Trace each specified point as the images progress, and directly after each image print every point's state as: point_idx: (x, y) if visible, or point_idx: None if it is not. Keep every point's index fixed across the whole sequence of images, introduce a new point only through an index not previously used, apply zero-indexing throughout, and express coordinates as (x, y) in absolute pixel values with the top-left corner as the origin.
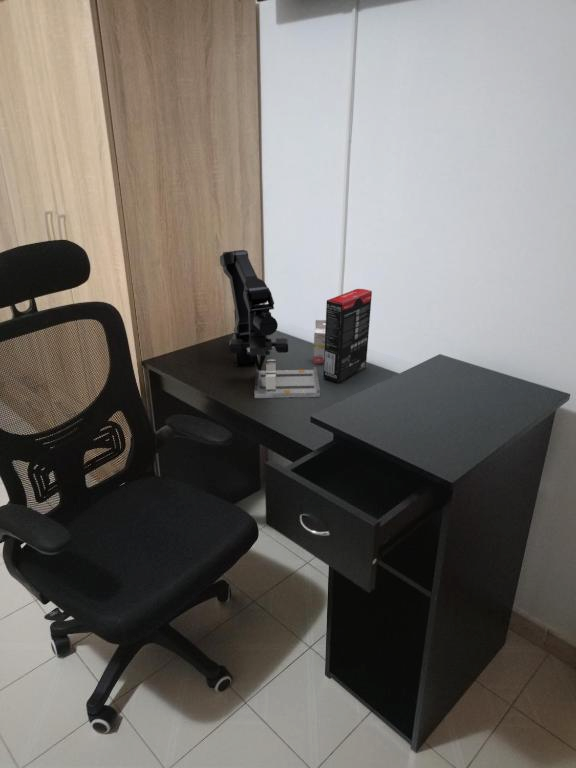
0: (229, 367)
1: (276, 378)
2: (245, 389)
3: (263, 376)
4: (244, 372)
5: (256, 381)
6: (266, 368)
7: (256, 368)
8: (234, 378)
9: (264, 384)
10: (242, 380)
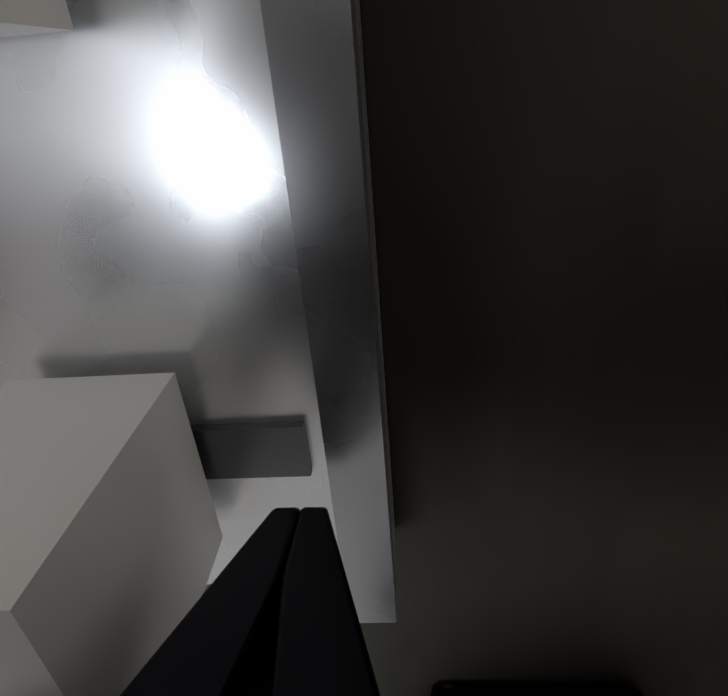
0: (725, 673)
1: (5, 353)
2: (570, 11)
3: (254, 421)
4: (555, 580)
5: (318, 61)
6: (75, 505)
7: (392, 610)
8: (716, 439)
9: (141, 62)
10: (599, 382)
